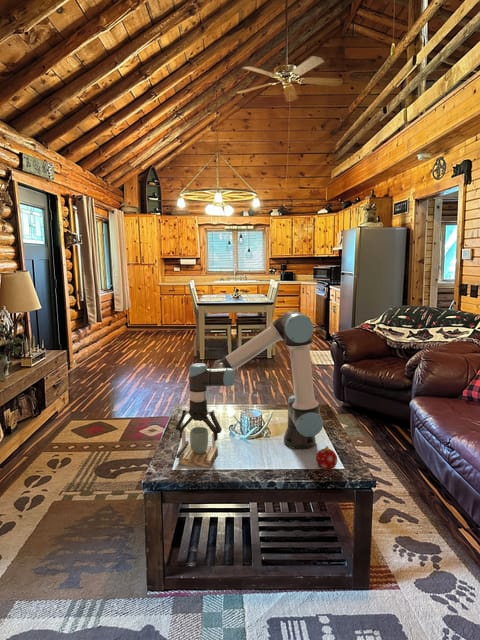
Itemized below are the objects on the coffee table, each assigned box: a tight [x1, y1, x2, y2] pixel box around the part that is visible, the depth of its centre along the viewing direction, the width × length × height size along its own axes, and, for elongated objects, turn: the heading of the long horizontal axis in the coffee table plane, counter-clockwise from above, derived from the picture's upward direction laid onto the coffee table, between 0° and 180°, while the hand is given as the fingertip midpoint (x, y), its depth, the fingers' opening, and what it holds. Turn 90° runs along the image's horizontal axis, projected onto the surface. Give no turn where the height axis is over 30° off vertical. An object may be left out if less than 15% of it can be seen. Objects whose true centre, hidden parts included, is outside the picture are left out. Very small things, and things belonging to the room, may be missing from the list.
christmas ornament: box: [315, 445, 338, 471], centre depth 171 cm, size 9×9×10 cm
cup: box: [189, 426, 209, 454], centre depth 180 cm, size 8×8×10 cm
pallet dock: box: [175, 440, 219, 468], centre depth 180 cm, size 15×14×4 cm
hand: (198, 446), depth 180 cm, fingers open, 13 cm apart
